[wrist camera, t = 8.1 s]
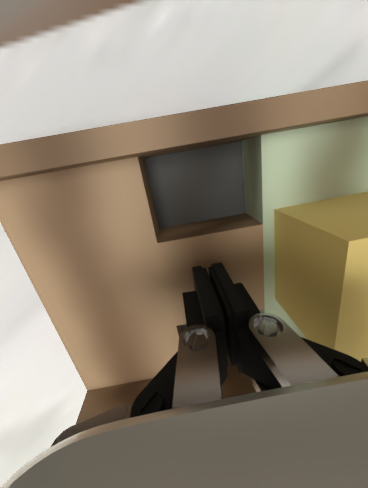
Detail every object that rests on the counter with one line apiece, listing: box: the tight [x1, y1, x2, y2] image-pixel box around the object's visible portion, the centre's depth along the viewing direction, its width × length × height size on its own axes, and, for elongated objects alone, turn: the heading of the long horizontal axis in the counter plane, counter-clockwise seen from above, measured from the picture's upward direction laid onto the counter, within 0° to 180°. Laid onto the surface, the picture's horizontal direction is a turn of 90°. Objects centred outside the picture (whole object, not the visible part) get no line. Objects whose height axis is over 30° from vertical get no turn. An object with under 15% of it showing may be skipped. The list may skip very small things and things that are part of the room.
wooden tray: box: [0, 81, 368, 424], centre depth 13 cm, size 22×17×6 cm
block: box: [274, 191, 368, 361], centre depth 10 cm, size 6×6×5 cm
